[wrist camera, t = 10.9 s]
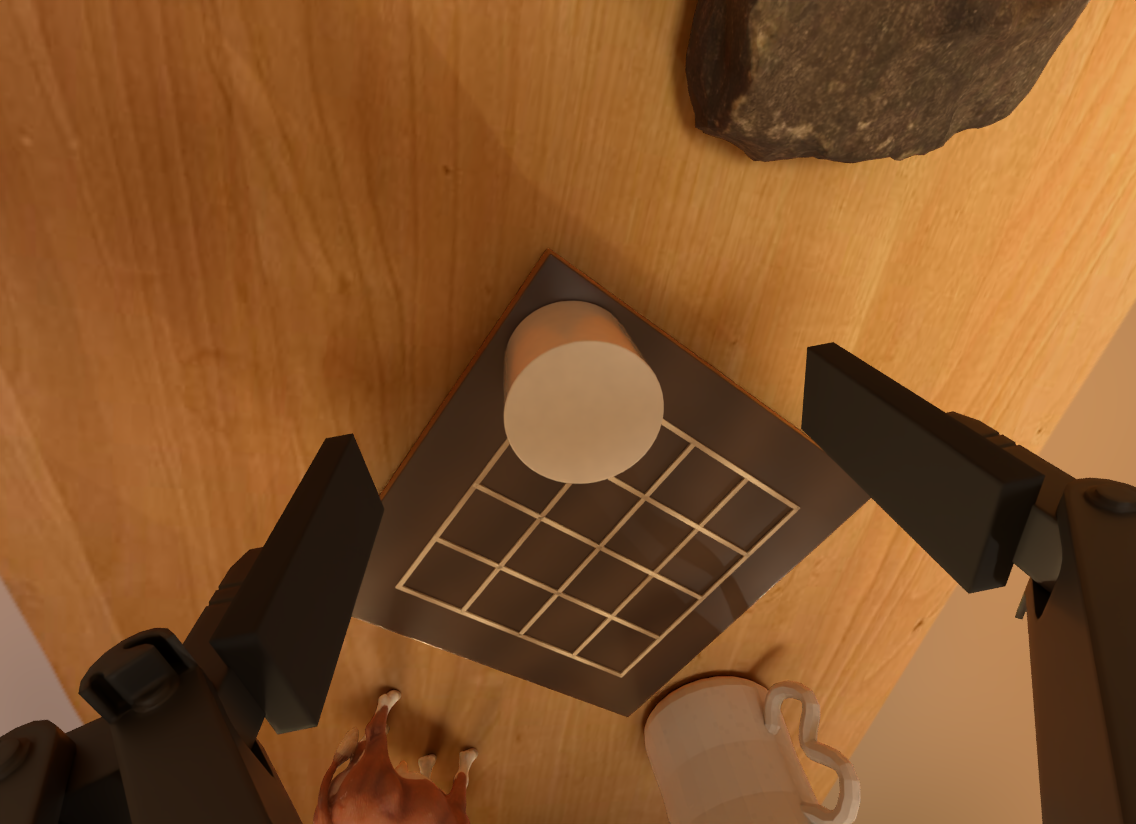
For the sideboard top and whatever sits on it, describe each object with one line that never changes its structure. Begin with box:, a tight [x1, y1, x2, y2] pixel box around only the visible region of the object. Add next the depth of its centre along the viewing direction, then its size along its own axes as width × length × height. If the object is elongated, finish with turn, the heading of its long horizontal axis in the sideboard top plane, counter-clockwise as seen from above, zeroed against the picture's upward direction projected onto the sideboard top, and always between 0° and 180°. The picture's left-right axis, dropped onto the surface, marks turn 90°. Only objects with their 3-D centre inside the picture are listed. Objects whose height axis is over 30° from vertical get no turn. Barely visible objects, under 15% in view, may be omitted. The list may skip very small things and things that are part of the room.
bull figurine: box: [313, 690, 478, 824], centre depth 29 cm, size 4×13×8 cm, turn 26°
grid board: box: [351, 248, 871, 717], centre depth 26 cm, size 20×20×1 cm
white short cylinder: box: [504, 301, 664, 484], centre depth 19 cm, size 5×5×4 cm
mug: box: [644, 676, 860, 824], centre depth 30 cm, size 12×9×10 cm
